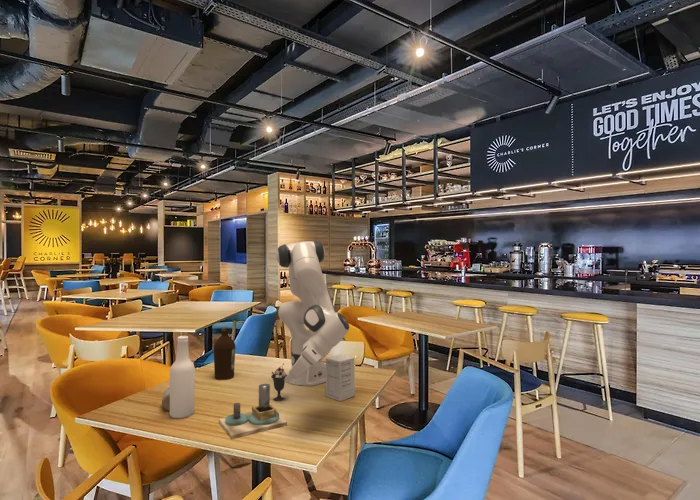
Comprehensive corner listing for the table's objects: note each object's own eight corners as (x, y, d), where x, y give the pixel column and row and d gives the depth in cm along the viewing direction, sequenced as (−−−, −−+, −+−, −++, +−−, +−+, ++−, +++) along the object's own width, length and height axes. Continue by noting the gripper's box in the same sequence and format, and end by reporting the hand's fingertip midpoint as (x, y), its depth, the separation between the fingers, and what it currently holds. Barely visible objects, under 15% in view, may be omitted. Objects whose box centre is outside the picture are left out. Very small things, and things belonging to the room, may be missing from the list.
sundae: (289, 397, 171) (289, 362, 171) (282, 402, 165) (282, 366, 165) (276, 395, 173) (276, 361, 173) (268, 401, 167) (268, 365, 167)
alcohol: (178, 421, 146) (179, 339, 147) (164, 416, 151) (165, 337, 151) (199, 413, 154) (199, 335, 154) (185, 408, 158) (185, 333, 159)
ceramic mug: (160, 412, 154) (161, 393, 154) (163, 405, 162) (163, 386, 162) (190, 410, 157) (190, 390, 158) (191, 402, 165) (191, 384, 165)
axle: (267, 412, 148) (267, 383, 148) (271, 416, 145) (271, 386, 145) (257, 414, 146) (257, 385, 146) (260, 418, 143) (261, 387, 143)
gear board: (270, 410, 156) (270, 392, 156) (286, 425, 143) (286, 404, 143) (218, 422, 145) (218, 402, 145) (231, 439, 132) (231, 416, 132)
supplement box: (355, 396, 173) (355, 357, 173) (340, 401, 166) (340, 361, 166) (339, 391, 179) (339, 354, 180) (325, 396, 173) (325, 357, 173)
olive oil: (212, 381, 193) (212, 330, 194) (214, 374, 204) (215, 326, 204) (234, 379, 196) (234, 329, 196) (235, 373, 206) (236, 325, 206)
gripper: (313, 338, 156) (288, 363, 157) (303, 350, 136) (275, 379, 136) (324, 349, 156) (300, 374, 156) (316, 363, 135) (288, 392, 136)
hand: (288, 376), depth 146 cm, fingers open, 8 cm apart
